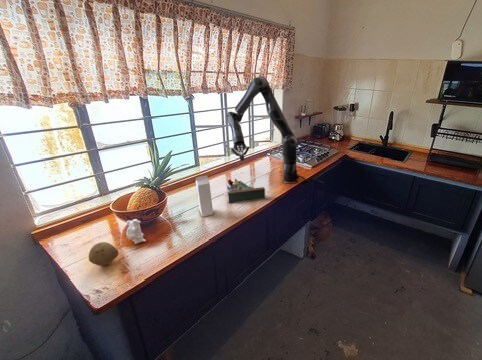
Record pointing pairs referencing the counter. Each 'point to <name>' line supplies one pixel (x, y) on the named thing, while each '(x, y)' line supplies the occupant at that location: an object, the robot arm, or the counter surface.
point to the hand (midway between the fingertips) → (242, 160)
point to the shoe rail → (246, 194)
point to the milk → (204, 195)
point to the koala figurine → (134, 231)
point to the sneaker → (236, 185)
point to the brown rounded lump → (102, 254)
